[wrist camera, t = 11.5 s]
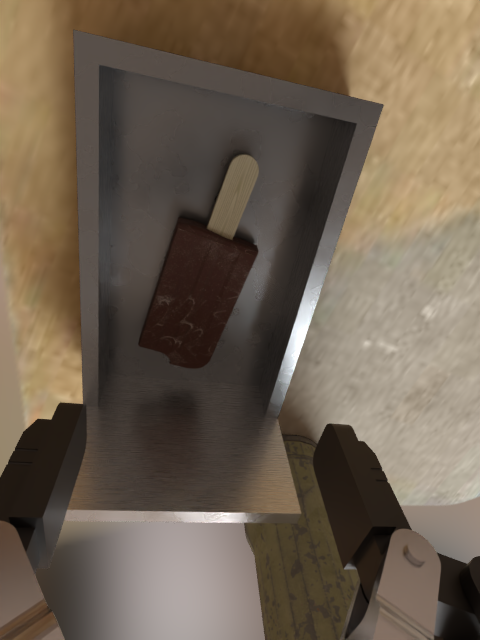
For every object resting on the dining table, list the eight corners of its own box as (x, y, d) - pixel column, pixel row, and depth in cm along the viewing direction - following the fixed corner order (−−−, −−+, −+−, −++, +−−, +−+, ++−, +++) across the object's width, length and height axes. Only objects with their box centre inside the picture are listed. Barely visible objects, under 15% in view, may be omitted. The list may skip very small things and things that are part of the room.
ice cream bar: (204, 134, 21) (137, 343, 28) (205, 137, 19) (134, 356, 26) (288, 170, 22) (204, 360, 29) (294, 176, 21) (205, 374, 28)
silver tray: (97, 42, 19) (-15, -15, 9) (350, 102, 22) (488, 112, 11) (97, 393, 31) (49, 541, 21) (260, 405, 34) (288, 541, 23)
